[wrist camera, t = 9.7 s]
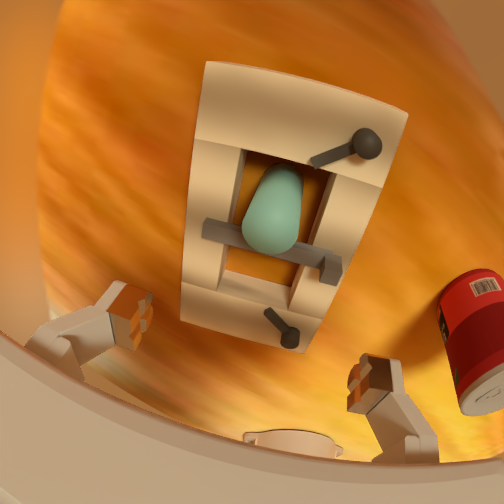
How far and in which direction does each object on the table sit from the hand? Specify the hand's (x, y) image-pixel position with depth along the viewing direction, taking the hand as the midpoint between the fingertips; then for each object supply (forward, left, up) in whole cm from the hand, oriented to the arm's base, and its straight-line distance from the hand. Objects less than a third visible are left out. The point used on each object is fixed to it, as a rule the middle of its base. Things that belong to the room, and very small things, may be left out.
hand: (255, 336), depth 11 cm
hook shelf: (-3, +1, -14) cm, 14 cm away
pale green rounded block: (0, +1, -14) cm, 14 cm away
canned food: (-5, -20, -14) cm, 25 cm away
